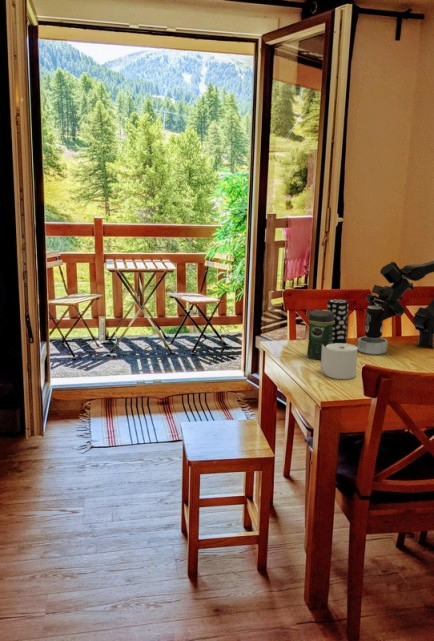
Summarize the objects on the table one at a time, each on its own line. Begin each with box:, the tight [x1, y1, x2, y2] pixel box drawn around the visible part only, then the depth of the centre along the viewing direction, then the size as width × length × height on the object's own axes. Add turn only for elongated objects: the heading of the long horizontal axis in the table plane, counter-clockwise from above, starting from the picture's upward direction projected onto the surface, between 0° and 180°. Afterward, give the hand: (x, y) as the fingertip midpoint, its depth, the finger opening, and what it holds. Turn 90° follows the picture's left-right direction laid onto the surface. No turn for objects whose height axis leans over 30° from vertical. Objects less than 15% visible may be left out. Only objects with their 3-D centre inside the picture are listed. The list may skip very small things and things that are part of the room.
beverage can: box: [364, 305, 384, 338], centre depth 215 cm, size 7×7×12 cm
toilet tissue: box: [320, 343, 358, 380], centre depth 188 cm, size 11×12×10 cm
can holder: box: [357, 335, 388, 356], centre depth 218 cm, size 12×12×5 cm
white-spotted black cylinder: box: [326, 298, 349, 344], centre depth 219 cm, size 8×8×20 cm
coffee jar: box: [306, 309, 335, 361], centre depth 208 cm, size 10×8×19 cm
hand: (371, 320), depth 215 cm, fingers closed on beverage can, 6 cm apart
